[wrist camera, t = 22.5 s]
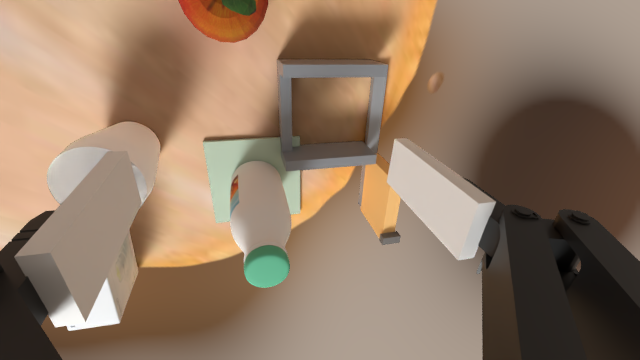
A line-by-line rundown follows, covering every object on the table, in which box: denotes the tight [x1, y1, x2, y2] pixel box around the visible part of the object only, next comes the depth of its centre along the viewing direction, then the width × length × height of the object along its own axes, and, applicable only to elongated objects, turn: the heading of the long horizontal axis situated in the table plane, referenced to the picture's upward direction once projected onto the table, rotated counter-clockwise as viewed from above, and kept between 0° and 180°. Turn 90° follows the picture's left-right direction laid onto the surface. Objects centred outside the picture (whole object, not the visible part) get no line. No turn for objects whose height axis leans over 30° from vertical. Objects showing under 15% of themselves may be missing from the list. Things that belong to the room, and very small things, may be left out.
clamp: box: [277, 59, 388, 206], centre depth 45 cm, size 25×16×6 cm, turn 178°
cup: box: [47, 122, 160, 207], centre depth 36 cm, size 9×9×12 cm
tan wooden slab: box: [361, 153, 401, 245], centre depth 47 cm, size 11×3×10 cm, turn 178°
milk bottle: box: [230, 161, 291, 287], centre depth 38 cm, size 8×8×20 cm
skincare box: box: [67, 230, 138, 331], centre depth 43 cm, size 10×6×10 cm, turn 174°
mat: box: [203, 136, 300, 223], centre depth 47 cm, size 14×14×1 cm
